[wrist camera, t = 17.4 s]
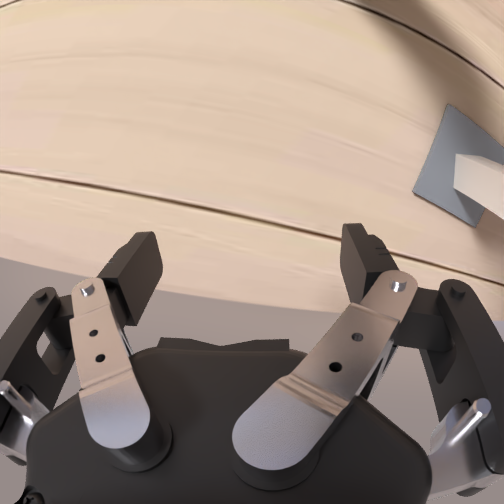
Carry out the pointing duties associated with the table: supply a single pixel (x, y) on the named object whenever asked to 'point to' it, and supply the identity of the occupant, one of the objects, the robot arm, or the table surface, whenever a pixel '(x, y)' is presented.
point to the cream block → (481, 181)
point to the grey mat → (443, 164)
